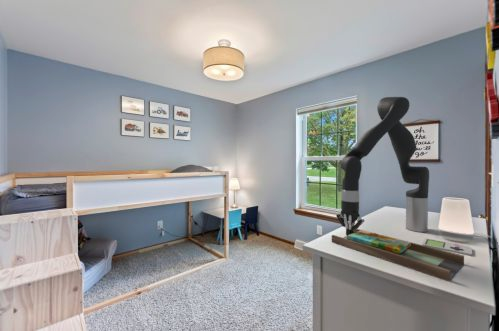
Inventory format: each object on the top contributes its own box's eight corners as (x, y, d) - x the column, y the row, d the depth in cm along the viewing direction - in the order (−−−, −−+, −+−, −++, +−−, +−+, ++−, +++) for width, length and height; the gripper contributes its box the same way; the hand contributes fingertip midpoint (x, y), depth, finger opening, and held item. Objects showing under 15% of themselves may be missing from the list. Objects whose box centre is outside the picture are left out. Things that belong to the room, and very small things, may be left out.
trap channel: (353, 233, 109) (353, 227, 109) (464, 264, 77) (464, 255, 76) (331, 242, 98) (331, 235, 98) (449, 281, 66) (449, 271, 66)
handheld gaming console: (472, 253, 83) (422, 243, 93) (472, 257, 83) (422, 246, 93) (471, 246, 90) (425, 237, 100) (471, 249, 90) (425, 240, 100)
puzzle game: (359, 228, 102) (411, 240, 86) (359, 238, 102) (411, 252, 86) (346, 233, 95) (400, 247, 79) (346, 244, 95) (400, 260, 79)
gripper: (368, 201, 97) (368, 239, 98) (341, 196, 108) (341, 231, 109) (359, 202, 93) (359, 243, 94) (332, 198, 104) (332, 234, 104)
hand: (349, 236), depth 101 cm, fingers closed
